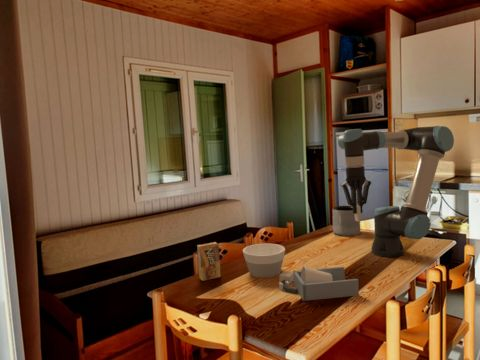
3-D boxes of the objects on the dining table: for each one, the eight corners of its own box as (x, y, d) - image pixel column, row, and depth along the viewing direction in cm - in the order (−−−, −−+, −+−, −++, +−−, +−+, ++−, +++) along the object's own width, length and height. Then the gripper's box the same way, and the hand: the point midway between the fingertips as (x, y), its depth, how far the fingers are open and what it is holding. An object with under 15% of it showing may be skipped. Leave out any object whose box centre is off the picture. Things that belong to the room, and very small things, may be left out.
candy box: (217, 274, 176) (215, 241, 174) (221, 277, 172) (218, 243, 171) (199, 278, 172) (196, 245, 171) (202, 281, 169) (199, 247, 167)
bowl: (274, 282, 162) (273, 257, 161) (235, 276, 173) (234, 252, 172) (293, 268, 179) (292, 245, 177) (257, 263, 189) (255, 241, 188)
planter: (333, 236, 228) (333, 210, 226) (332, 230, 244) (331, 205, 242) (362, 236, 225) (361, 210, 224) (358, 229, 241) (357, 205, 239)
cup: (335, 277, 145) (307, 274, 145) (331, 299, 148) (302, 297, 148) (330, 264, 155) (303, 261, 155) (325, 285, 158) (299, 282, 158)
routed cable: (290, 281, 163) (290, 277, 163) (298, 293, 150) (298, 289, 150) (278, 282, 162) (277, 279, 162) (284, 294, 150) (284, 291, 149)
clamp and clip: (292, 278, 166) (291, 270, 166) (298, 288, 155) (298, 280, 154) (274, 279, 166) (274, 272, 165) (280, 290, 154) (279, 282, 154)
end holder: (343, 280, 160) (343, 266, 160) (358, 295, 145) (358, 279, 144) (293, 285, 158) (293, 271, 158) (303, 300, 143) (302, 285, 142)
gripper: (365, 163, 167) (368, 217, 170) (336, 167, 166) (340, 220, 169) (373, 165, 160) (376, 220, 163) (343, 168, 158) (347, 224, 161)
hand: (358, 220), depth 166 cm, fingers closed
